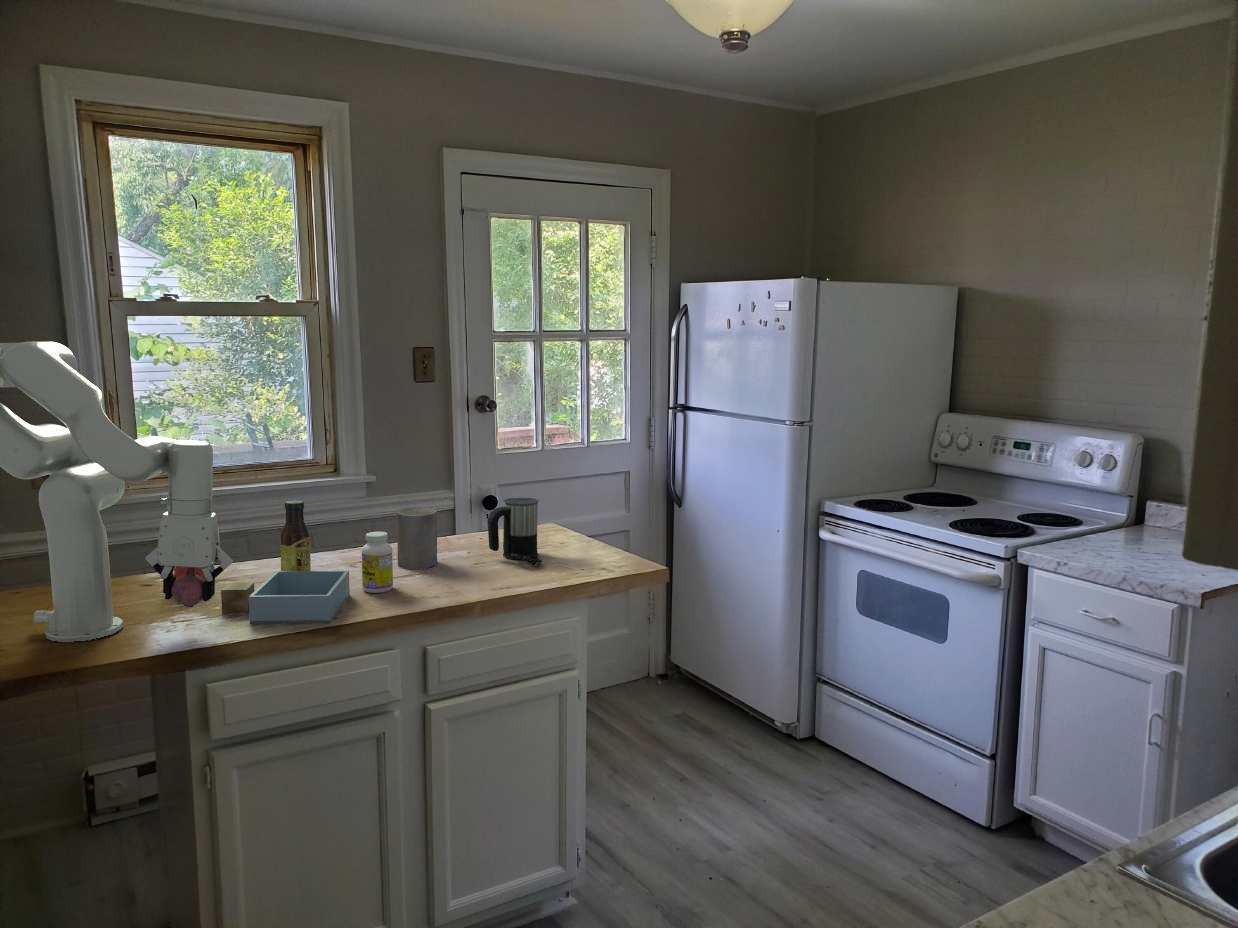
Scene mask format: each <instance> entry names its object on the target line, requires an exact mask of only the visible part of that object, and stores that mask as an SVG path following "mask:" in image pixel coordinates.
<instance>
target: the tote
mask: <svg viewBox="0 0 1238 928" xmlns="http://www.w3.org/2000/svg"><path fill="white" fill-rule="evenodd" d="M350 589H351V587H350V570H311V571H281V570H276V571H274V573H273V574H271V575H270V576H269V577H268V578H267V579H266V580H264V582H262V584H260V586H259V587H258V588H256V589H254V592H253V593H252V594H251V595H250V596H249V612H248V613H249V624H250V625H270V624H271V625H279V624H281V625H283V624H284V625H285V624H331V623H332V621H333V620H334V619H335V617H336V616H337V614H338V613H339V611H340V610H341V608H342V607H343V606H344V605H345V603H346V601H347V600H348V598H350V595H351V594H350V593H351V591H350Z"/></svg>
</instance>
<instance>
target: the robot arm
mask: <svg viewBox="0 0 1238 928" xmlns="http://www.w3.org/2000/svg"><path fill="white" fill-rule="evenodd" d="M77 371H78V361H77V359H76V357H75V355H74V354H73V352H72V351H71V350H70V349H69V347H67V346H65V345H63V344H61V343H59V342H56V341H49V340H42V341H40V340H39V341H37V340H36V341H35V340H34V341H23V342H0V388H17V389H19V391H22V393H24V394H25V395H26V396H27V397H29V398H30V399H32V400H33V401H34V402H36V403H37V404H38V405H39V406H41V407H42V408H44V409H45V410H46V411H47V412H49V414H51V415H53V416H54V417H56V418H57V419H58V420H59V421H60V422H62V423H63V424H64V425H65V426H66V427H65V426H62V425H59V424H55V423H42V424H36V425H33V424H30V423H28V422H26V421H25V420H23V419H22V418H20V417H19V416H18V415H16V414H15V413H14V412H12V411H11V410H10V408H8V407H7V406H6V405H4V404H3V403H1V402H0V468H1V469H2V470H4V471H5V472H6V473H8V474H9V475H11V476H12V477H14V478H16V479H20V480H34V479H39V478H42V477H43V476H44V477H45V476H47V475H49V476H48V477H47V478H46V479H45V480H44V481H43V482H42V484H41V486H40V487H39V492H38V505H39V509H40V512H41V517H42V519H43V523H44V526H45V527H44V528H45V532H46V540H47V550H48V558H49V569H50V570H49V571H50V581H51V595H52V605H53V608H52V610H35V611H34V614H33V623H34V624H36V625H37V624H47V625H48V628H47V629H45V637H46V639H48V640H49V641H52V642H55V641H57V643H75V642H74V641H81V642H86V640H88V641H93V640H92V639H94V640H97V639H96V638H98V639H102V638H105V637H104V636H106V637H108V635H109V636H111V635H114V634H116V633H117V631H118V632H120V631H121V629H123V627H124V621H123V619H122V618H120V617H118V616H114V610H113V609H114V608H113V607H114V606H113V594H112V581H111V568H110V555H109V552H110V551H109V546H108V545H109V543H108V535H107V531H106V526H105V524H104V522H103V518H102V515H101V513H100V511H103V510H105V509H107V508H111V506H113V505H116V504H117V503H118V502H119V501H120V500H121V498H122V497H123V495H124V493H125V489H126V482H127V483H132V484H134V483H135V484H136V483H141V482H145V481H147V480H148V481H149V480H150V479H153V478H157V477H160V476H164V475H167V477H168V478H167V483H168V484H167V497H166V498H160V501H159V502H160V503H159V504H160V506H162V507H163V506H164V507H166V512H163V513H162V516H161V520H160V523H159V524H160V525H159V530H158V531H159V532H158V539H157V547H156V548H154V549H153V550H152V551H151V552H150V553H149V554H147V555H146V556H145V560H146V562H147V563H149V564H150V565H151V566H152V568H153V569H154V571H155V572H157V573H158V574H159V576H160V578H161V579H162V593H163V594H164V599H165V600H168V601H169V600H170V599H172V598H173V596H172V592H171V588H172V585H173V583H174V582H175V581H176V576H175V575H174V569H175V567H182V568H202V571H203V573H204V576H205V581H204V582H203V599H202V601H203V602H208V601H210V599H212V598H213V596H214V595H215V591H216V588H215V587H216V578H217V577H218V576H220V575H221V573H223V572H224V571H225V570H226V569H228V567H230V566H231V565H232V564H233V563H234V560H233V559H232V558H231V557H230V556H229V555H228V554H227V553H226V551H224V550H223V549H222V548H221V544H220V542H221V541H220V531H219V525H218V519H217V514H216V512H213V482H214V481H213V477H214V450H213V446H212V445H211V444H210V442H209V443H208V442H207V441H202V440H190V439H189V440H180V439H179V440H177V439H173V438H169V437H164V436H160V435H159V436H157V435H150V436H145V437H141V438H137V439H134V438H132V437H131V436H129V435H128V434H126V433H125V432H124V431H122V430H121V429H120V428H119V427H118V426H116V425H115V424H114V423H113V422H112V421H111V420H110V419H109V417H108V415H107V414H106V412H105V411H104V408H103V402H104V393H103V392H102V390H101V389H99V387H98V386H96V385H95V384H93V383H92V382H91V381H89V380H88V379H87V378H85V377H84V376H83V375H81V374H80V373H79V372H77ZM218 561H220V564H219V565H218V566H217V567H215V564H214V563H217V562H218ZM101 637H102V638H101Z"/></svg>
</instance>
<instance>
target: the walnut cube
mask: <svg viewBox="0 0 1238 928" xmlns="http://www.w3.org/2000/svg"><path fill="white" fill-rule="evenodd" d="M254 591H255V582H228V583H227V584H226V585H225V586H224V587H222V588H221V589H220V599H221V601H220V602H221V613H222V614H247V613H249V596H250V595H251V594H252V593H253V592H254Z"/></svg>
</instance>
